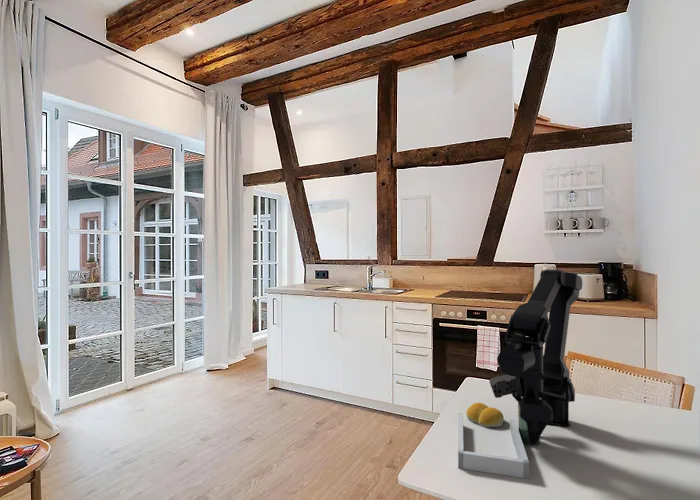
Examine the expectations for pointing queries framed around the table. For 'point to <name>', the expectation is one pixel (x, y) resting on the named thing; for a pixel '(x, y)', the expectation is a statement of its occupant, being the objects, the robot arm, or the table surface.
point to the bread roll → (484, 415)
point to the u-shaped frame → (495, 462)
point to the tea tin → (525, 432)
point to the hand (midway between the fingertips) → (529, 434)
